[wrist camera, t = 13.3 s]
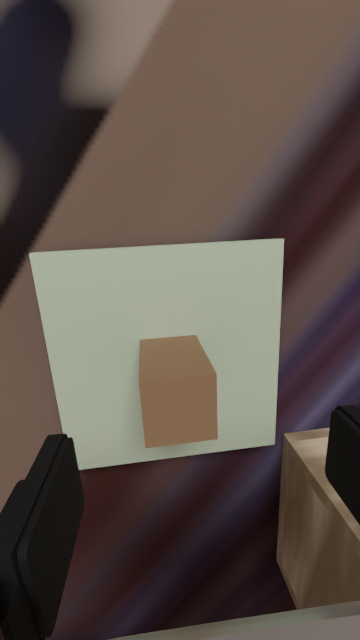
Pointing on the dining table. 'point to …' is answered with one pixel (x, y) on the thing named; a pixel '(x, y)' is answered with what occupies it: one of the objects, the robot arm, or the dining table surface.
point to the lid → (163, 347)
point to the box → (315, 527)
